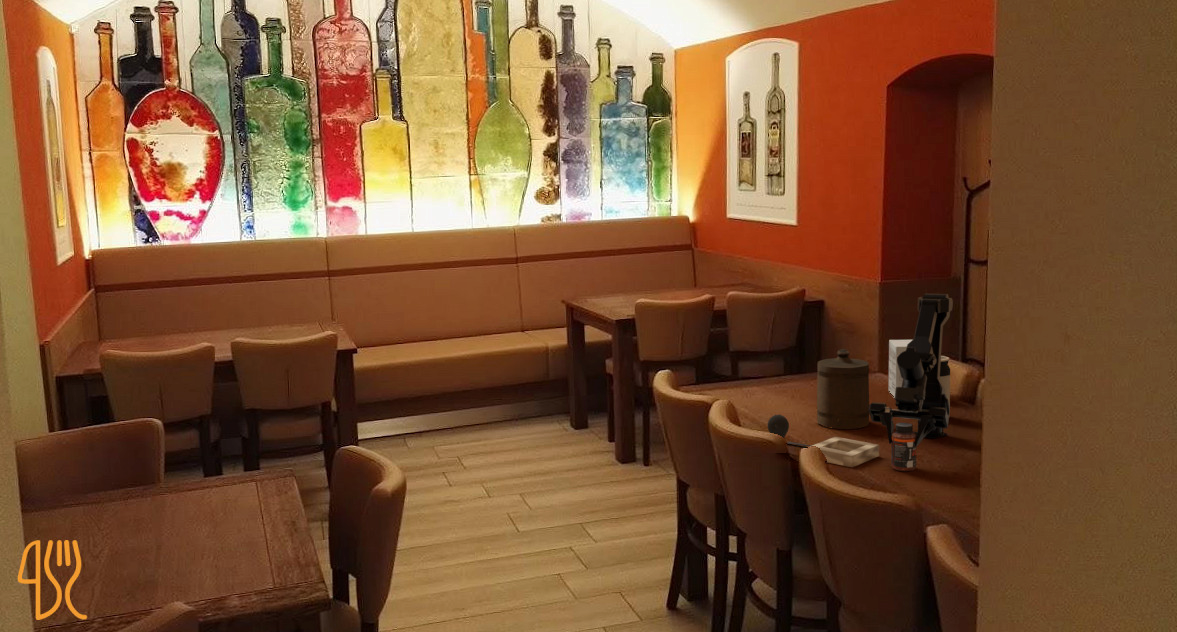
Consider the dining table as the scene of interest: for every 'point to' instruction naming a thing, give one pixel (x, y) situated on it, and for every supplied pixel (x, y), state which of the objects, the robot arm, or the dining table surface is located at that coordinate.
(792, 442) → the dark grey rod
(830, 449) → the cream square shallow tray
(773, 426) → the light bulb
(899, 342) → the supplement box
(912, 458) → the supplement bottle
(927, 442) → the dining table surface
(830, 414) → the wooden container
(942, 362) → the travel mug
